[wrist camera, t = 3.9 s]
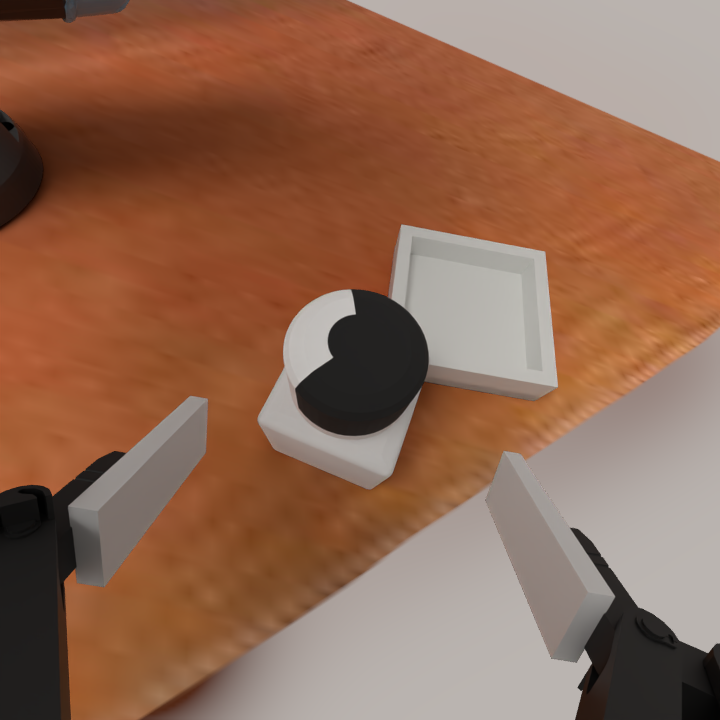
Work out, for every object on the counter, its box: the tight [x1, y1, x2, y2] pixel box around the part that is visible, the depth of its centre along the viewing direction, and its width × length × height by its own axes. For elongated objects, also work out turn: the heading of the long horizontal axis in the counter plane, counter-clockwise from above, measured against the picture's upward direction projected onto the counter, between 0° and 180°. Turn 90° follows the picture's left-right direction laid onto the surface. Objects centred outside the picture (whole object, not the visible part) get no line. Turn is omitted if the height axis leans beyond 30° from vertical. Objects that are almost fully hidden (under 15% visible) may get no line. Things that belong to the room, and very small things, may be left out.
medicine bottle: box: [257, 289, 430, 489], centre depth 20 cm, size 7×7×12 cm
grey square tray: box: [388, 224, 558, 401], centre depth 28 cm, size 12×12×3 cm
